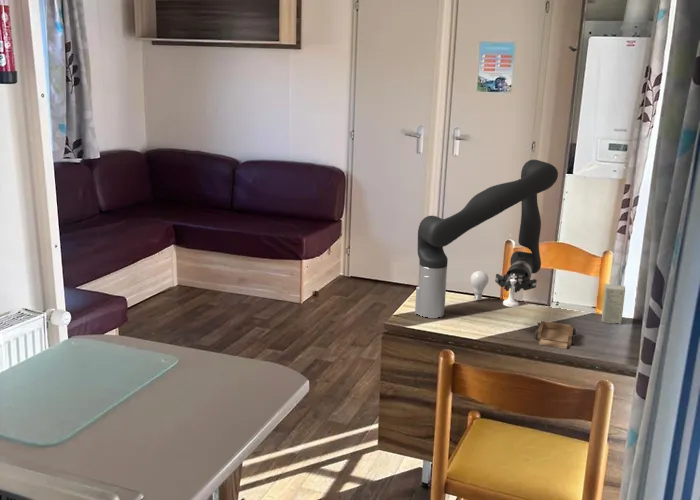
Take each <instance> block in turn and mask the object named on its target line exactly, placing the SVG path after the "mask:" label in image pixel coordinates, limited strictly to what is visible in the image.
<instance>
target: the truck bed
mask: <svg viewBox="0 0 700 500" xmlns="http://www.w3.org/2000/svg"><path fill="white" fill-rule="evenodd" d="M536 327H537V328H535V331H534V339H536V341H539V342H538V344H539V346H546V347H551V346H553V347H552V348H557V347H558V349H559V348H560V349H563V350H565V349H566V350H567V348H568V347H571V346H572V345H575V339H576V336H577V335H576V334H577V328H575V325H572V324H567V323H566V324H565V323H559V322H551V321H544V320H540V322H537V325H536Z"/></svg>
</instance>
